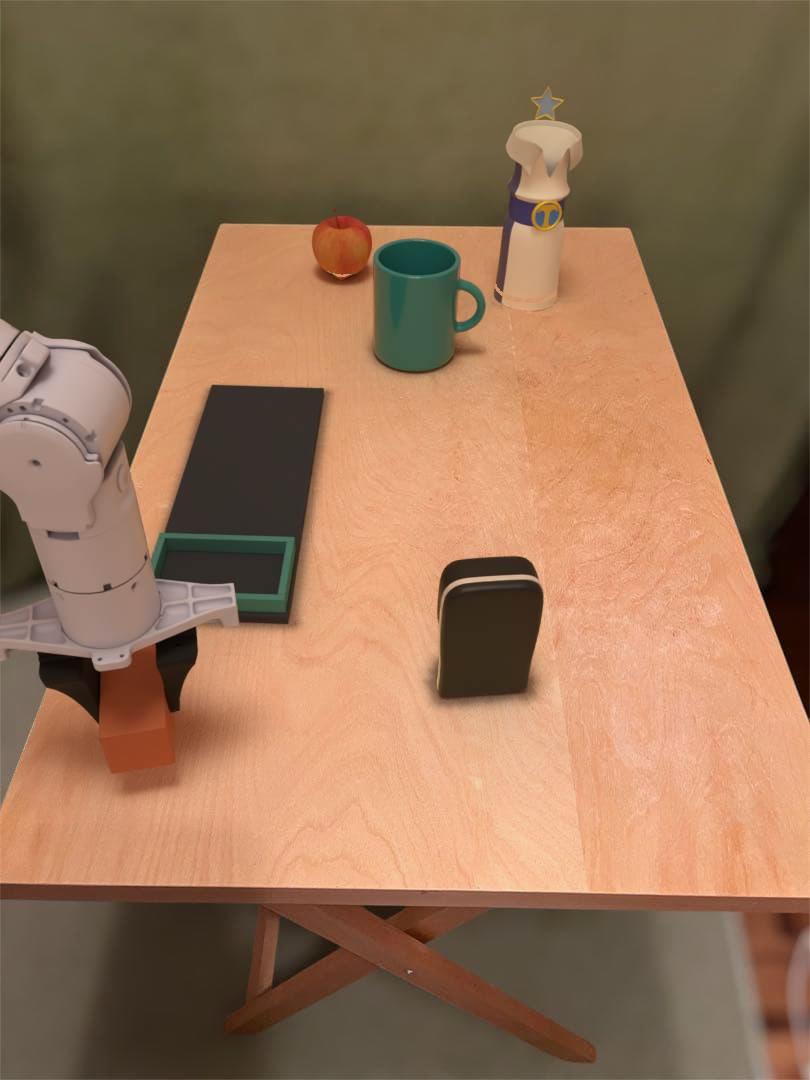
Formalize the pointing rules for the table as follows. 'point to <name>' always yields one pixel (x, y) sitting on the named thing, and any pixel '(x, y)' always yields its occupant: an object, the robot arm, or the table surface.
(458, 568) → the battery charger
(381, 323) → the cup
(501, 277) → the white trophy figurine
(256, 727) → the table surface
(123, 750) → the pad piece
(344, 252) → the apple
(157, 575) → the back pad
